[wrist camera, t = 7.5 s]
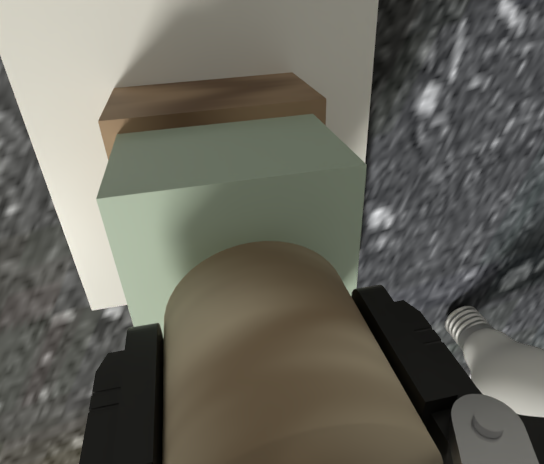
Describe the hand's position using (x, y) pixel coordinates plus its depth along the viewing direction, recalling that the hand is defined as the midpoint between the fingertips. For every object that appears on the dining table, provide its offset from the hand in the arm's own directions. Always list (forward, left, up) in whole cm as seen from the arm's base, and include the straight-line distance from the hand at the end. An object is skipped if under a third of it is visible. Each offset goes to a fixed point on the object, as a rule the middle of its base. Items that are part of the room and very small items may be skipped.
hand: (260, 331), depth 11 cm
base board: (0, 0, -13) cm, 13 cm away
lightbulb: (-17, +15, -13) cm, 26 cm away
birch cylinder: (0, 0, -1) cm, 1 cm away
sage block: (0, 0, -7) cm, 7 cm away
